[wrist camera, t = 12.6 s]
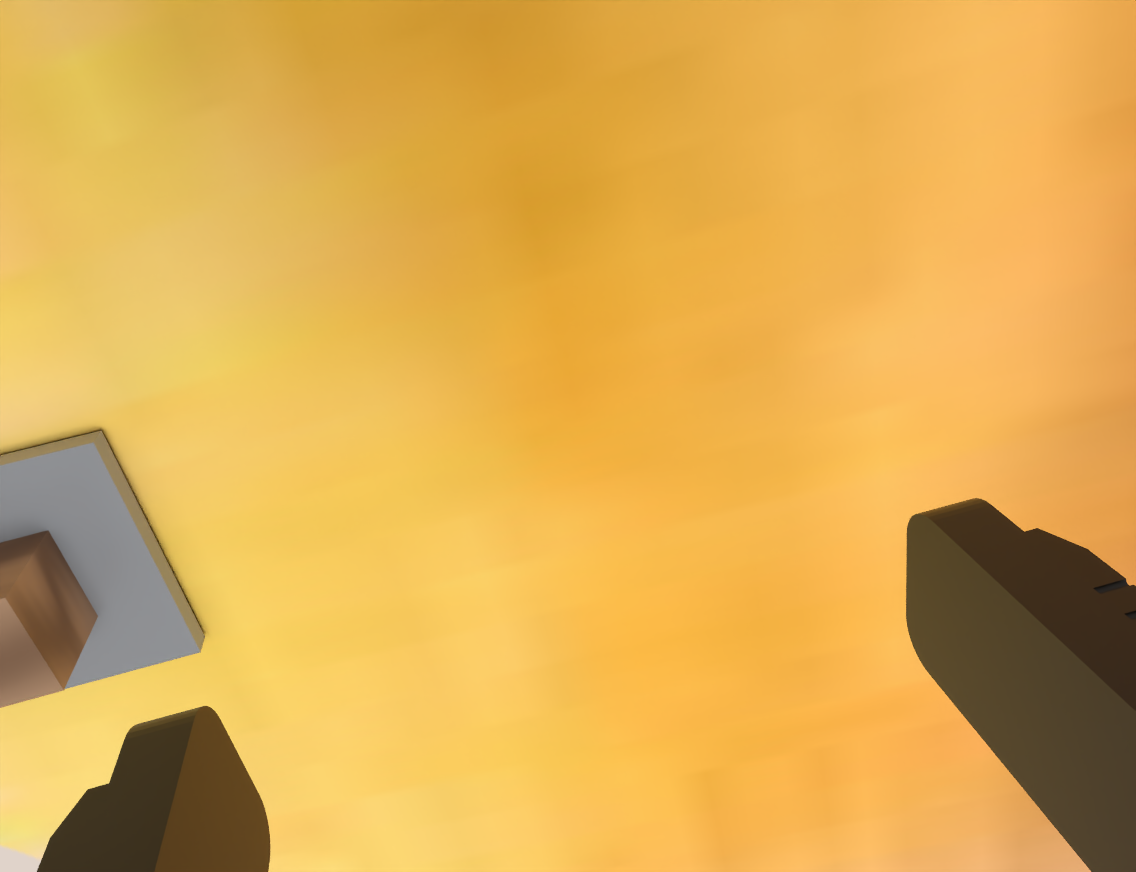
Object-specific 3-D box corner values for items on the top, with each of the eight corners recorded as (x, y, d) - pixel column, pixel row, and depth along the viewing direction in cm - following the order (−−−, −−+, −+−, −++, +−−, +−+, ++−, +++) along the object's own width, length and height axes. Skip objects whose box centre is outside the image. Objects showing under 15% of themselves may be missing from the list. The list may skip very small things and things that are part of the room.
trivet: (-182, 500, 37) (-198, 514, 36) (101, 430, 38) (93, 442, 37) (-39, 702, 43) (-49, 719, 42) (204, 636, 44) (200, 652, 43)
